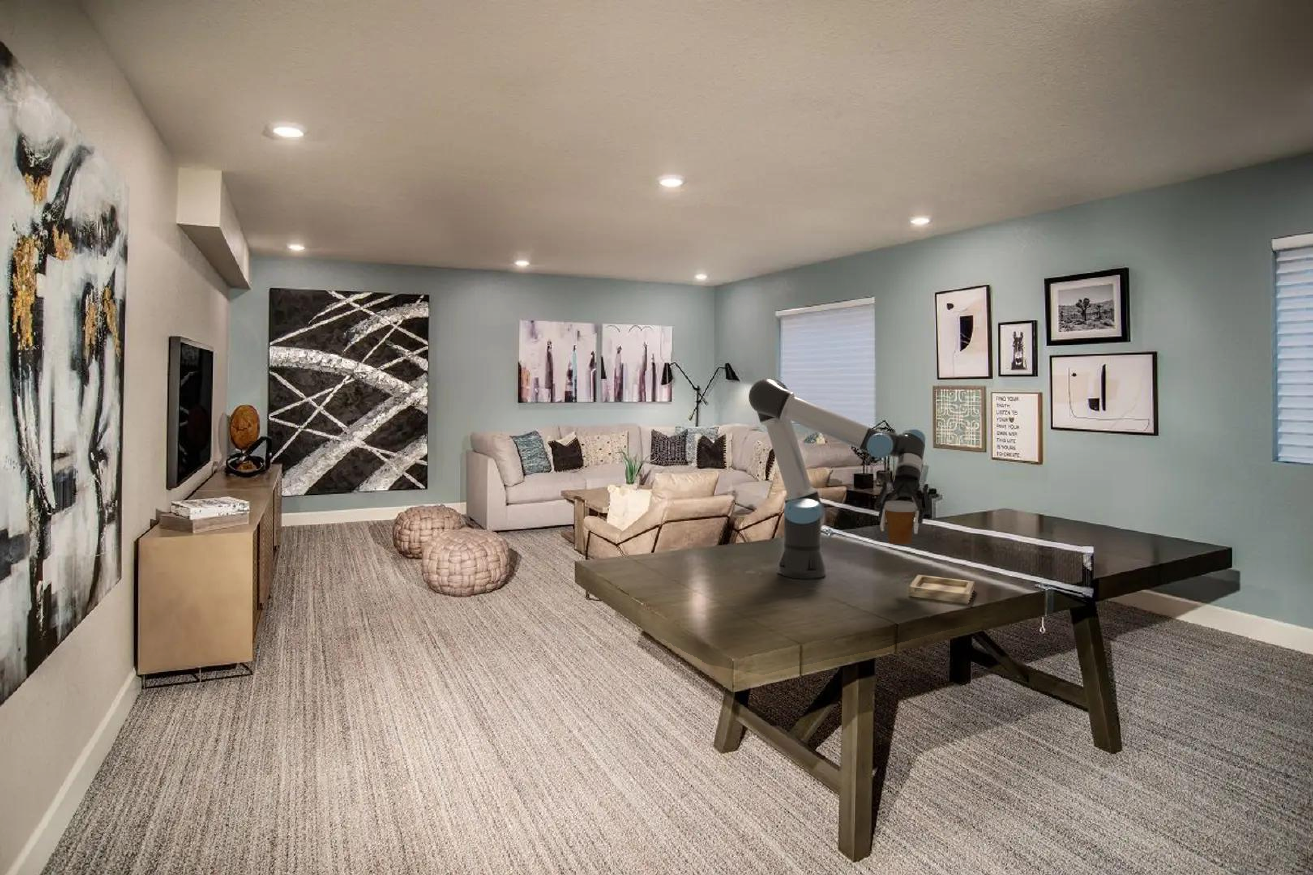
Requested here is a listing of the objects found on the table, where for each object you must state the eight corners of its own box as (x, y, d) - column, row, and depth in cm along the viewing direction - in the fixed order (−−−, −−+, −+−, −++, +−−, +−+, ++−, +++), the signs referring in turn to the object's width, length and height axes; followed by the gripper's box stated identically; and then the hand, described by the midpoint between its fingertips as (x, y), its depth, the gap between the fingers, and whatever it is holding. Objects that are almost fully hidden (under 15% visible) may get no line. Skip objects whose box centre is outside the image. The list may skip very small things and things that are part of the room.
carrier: (908, 595, 215) (908, 586, 214) (917, 583, 229) (918, 574, 228) (968, 603, 207) (968, 594, 207) (974, 590, 221) (974, 581, 221)
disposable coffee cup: (905, 546, 218) (906, 506, 217) (876, 541, 225) (877, 502, 224) (922, 542, 224) (923, 503, 223) (894, 537, 231) (895, 499, 231)
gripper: (945, 480, 232) (937, 540, 219) (874, 477, 242) (863, 533, 229) (943, 465, 227) (935, 525, 214) (871, 462, 237) (859, 519, 224)
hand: (898, 529), depth 222 cm, fingers closed on disposable coffee cup, 9 cm apart
